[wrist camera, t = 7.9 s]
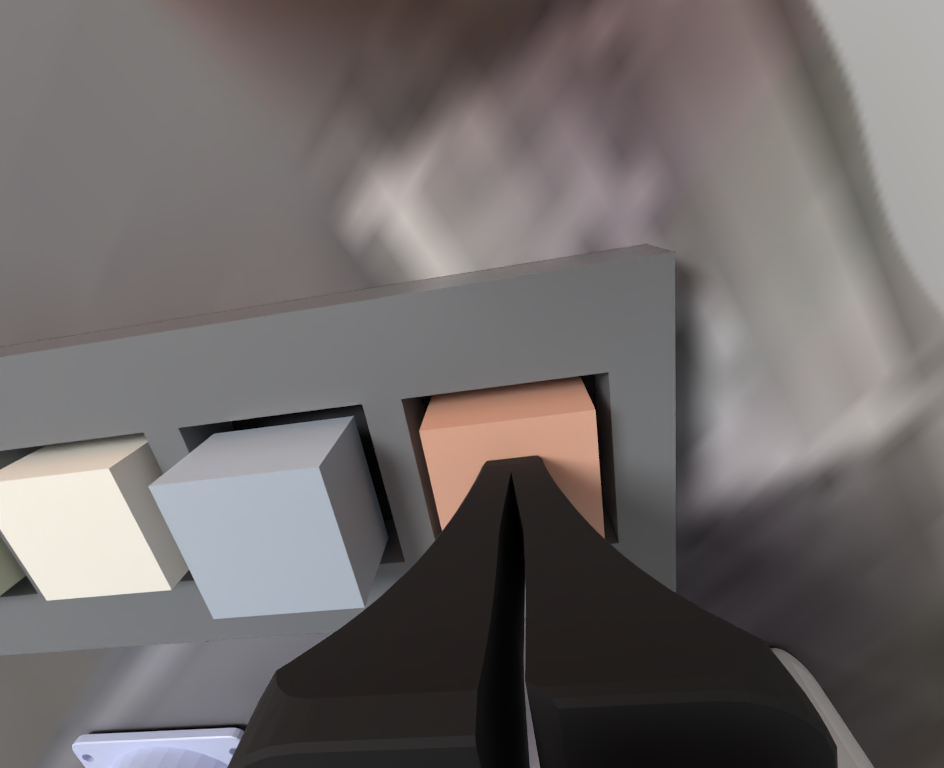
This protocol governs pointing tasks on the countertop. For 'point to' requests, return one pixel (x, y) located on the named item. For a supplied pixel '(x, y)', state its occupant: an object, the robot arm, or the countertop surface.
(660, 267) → the grey slotted tray
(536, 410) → the terracotta key
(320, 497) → the slate key
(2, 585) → the sage key
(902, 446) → the countertop surface
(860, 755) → the eye dropper bottle
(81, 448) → the cream key
